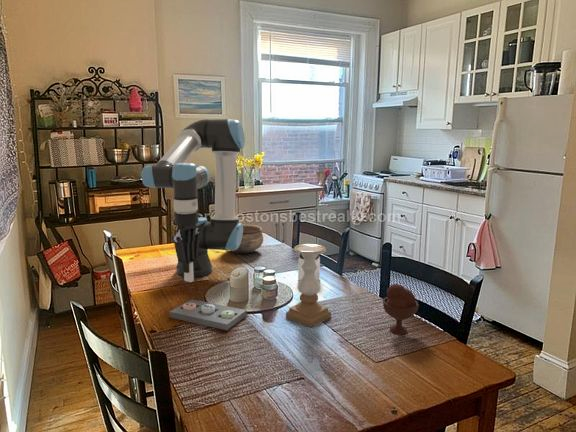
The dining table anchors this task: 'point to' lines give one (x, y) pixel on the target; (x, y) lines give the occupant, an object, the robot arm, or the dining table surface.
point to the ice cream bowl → (399, 306)
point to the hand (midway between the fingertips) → (189, 280)
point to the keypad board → (205, 319)
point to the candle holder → (309, 290)
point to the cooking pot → (250, 239)
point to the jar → (300, 270)
